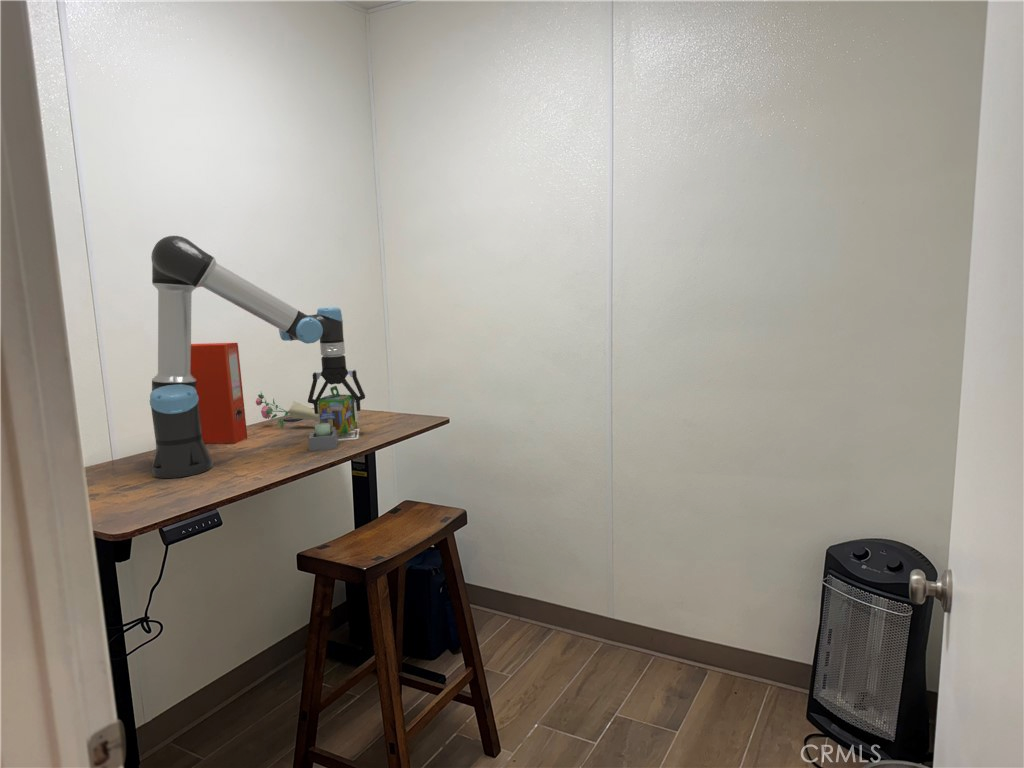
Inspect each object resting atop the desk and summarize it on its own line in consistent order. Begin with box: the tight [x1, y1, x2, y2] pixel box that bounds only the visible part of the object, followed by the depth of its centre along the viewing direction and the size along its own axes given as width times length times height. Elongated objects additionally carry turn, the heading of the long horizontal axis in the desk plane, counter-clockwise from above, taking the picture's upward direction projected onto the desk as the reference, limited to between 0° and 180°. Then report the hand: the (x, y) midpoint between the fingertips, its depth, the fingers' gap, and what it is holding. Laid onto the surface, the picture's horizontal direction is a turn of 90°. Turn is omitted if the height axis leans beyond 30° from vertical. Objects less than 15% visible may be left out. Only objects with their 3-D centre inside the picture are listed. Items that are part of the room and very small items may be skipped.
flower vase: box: [255, 392, 319, 429], centre depth 235 cm, size 12×12×35 cm
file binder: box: [191, 342, 248, 444], centre depth 218 cm, size 8×17×32 cm, turn 81°
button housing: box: [307, 430, 339, 452], centre depth 207 cm, size 8×8×4 cm
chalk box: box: [318, 385, 358, 434], centre depth 219 cm, size 9×9×15 cm
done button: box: [314, 423, 331, 437], centre depth 206 cm, size 4×4×4 cm
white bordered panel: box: [338, 428, 360, 442], centre depth 220 cm, size 12×14×1 cm
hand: (338, 422), depth 220 cm, fingers closed on chalk box, 11 cm apart
